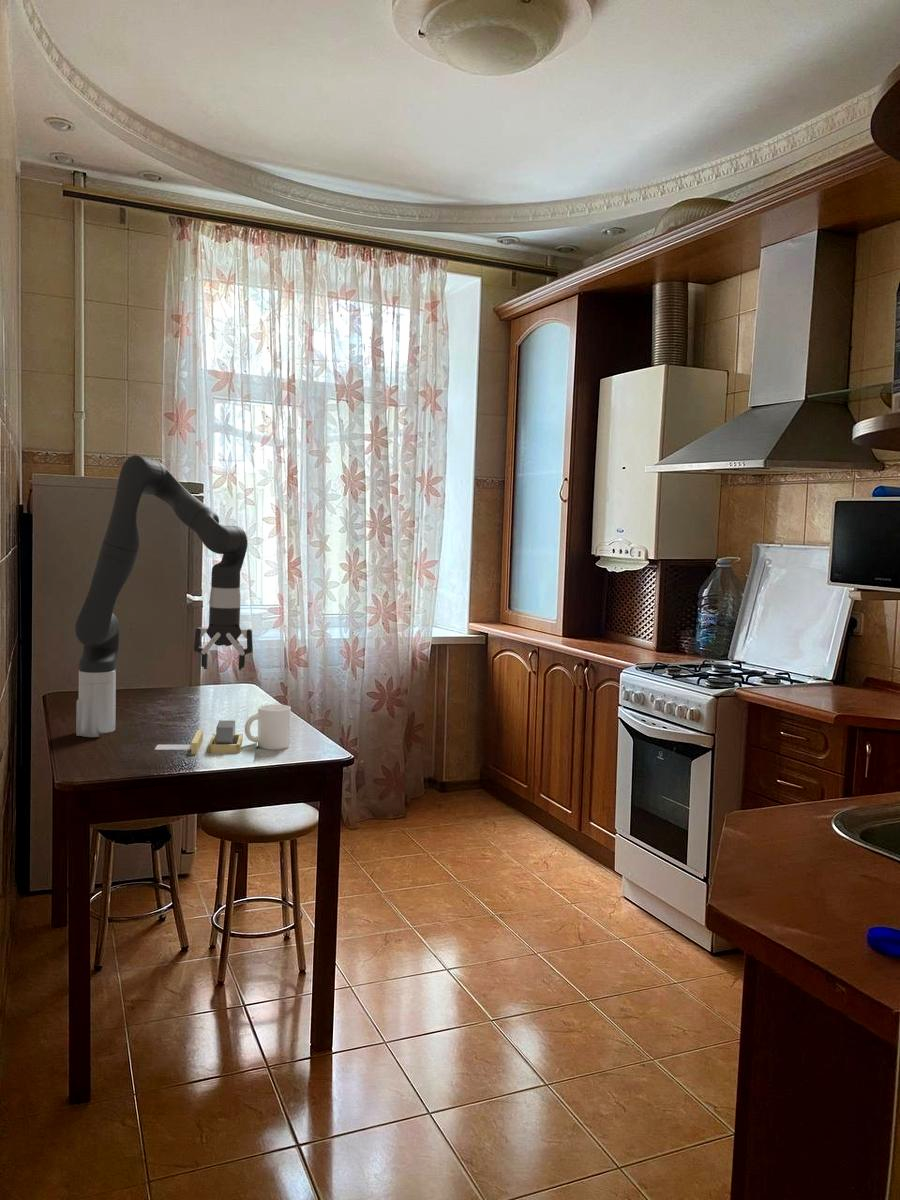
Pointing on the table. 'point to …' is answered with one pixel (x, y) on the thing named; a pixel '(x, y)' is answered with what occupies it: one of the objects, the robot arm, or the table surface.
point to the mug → (271, 727)
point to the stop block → (225, 732)
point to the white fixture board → (211, 746)
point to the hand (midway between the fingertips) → (222, 669)
